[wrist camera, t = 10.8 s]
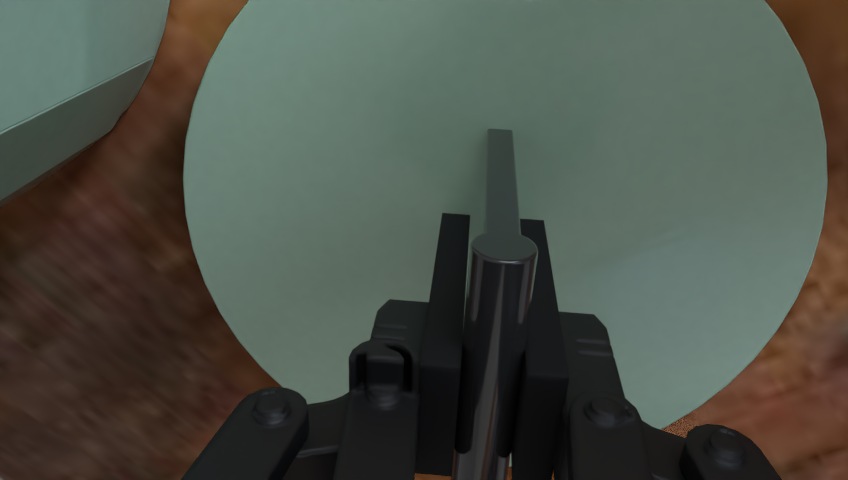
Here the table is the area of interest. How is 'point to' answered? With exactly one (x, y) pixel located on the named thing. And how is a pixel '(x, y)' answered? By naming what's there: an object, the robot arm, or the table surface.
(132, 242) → the table surface
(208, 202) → the lid
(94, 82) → the pot
